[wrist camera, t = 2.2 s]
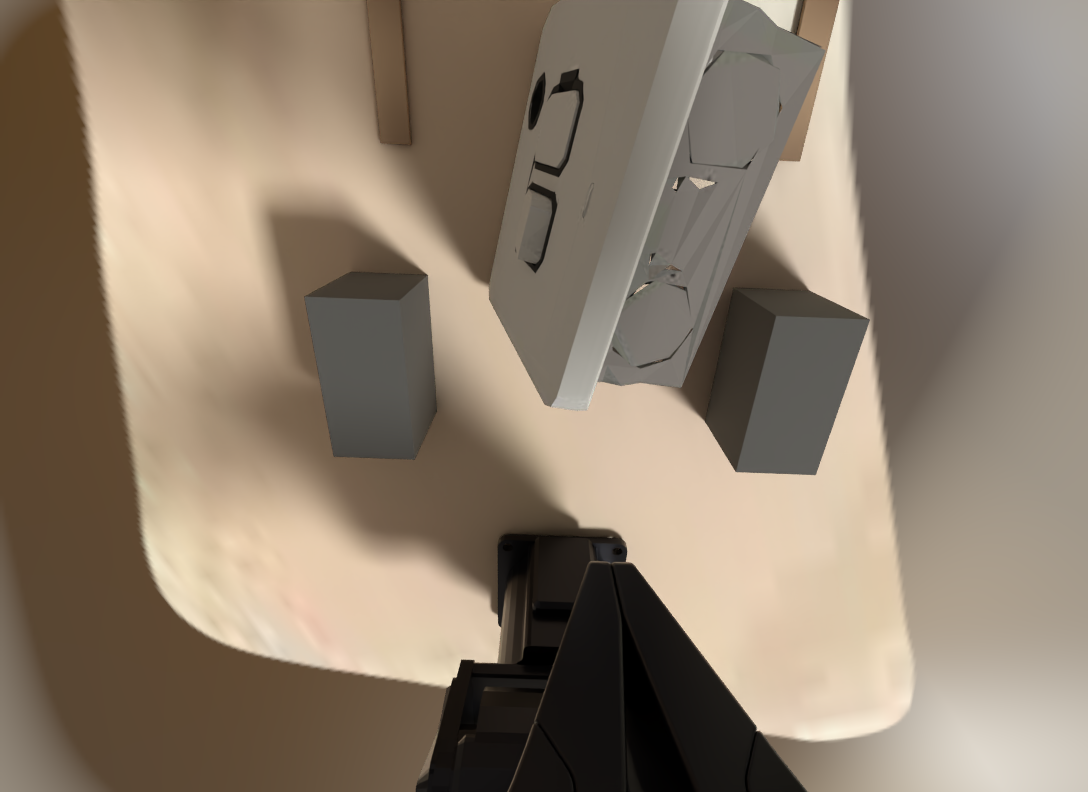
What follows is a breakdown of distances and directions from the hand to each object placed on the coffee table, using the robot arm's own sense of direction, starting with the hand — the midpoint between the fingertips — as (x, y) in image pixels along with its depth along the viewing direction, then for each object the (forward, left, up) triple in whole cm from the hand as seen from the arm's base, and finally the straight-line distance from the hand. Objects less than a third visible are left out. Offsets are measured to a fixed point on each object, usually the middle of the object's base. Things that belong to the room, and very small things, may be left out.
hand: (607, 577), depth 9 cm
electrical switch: (+6, 0, -12) cm, 14 cm away
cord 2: (0, +7, -12) cm, 14 cm away
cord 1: (0, -8, -12) cm, 14 cm away
